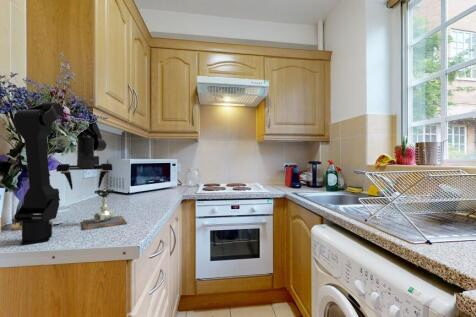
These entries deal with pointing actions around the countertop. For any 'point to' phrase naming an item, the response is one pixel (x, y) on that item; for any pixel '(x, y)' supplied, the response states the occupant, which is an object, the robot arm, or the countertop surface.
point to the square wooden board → (103, 223)
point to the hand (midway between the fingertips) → (85, 188)
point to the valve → (104, 207)
